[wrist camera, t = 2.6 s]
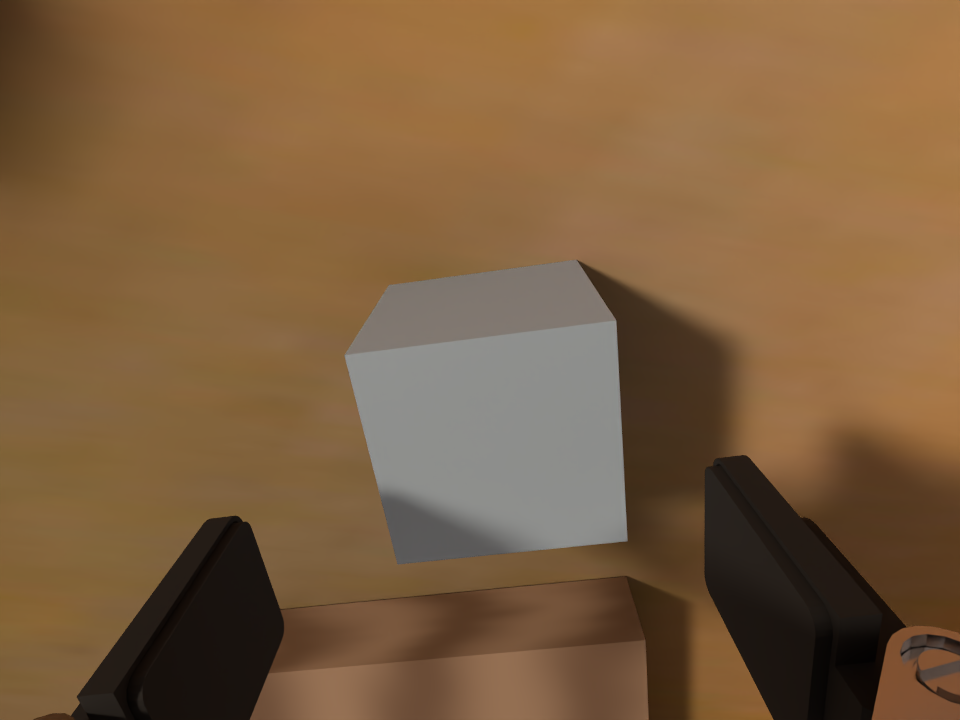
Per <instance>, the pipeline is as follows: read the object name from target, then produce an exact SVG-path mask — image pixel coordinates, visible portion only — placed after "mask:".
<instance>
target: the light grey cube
mask: <svg viewBox="0 0 960 720" xmlns="http://www.w3.org/2000/svg"><path fill="white" fill-rule="evenodd" d="M345 359H346V363H347V367H348V371H349V375H350V379H351V383H352V387H353V390H354V394H355V398H356V402H357V406H358V410H359V414H360V418H361V422H362V426H363V430H364V434H365V438H366V442H367V446H368V449H369V453H370V457H371V461H372V465H373V469H374V473H375V477H376V481H377V485H378V489H379V493H380V497H381V501H382V505H383V508H384V512H385V516H386V520H387V524H388V528H389V532H390V536H391V540H392V544H393V548H394V552H395V556H396V560H397V564H406V563H416V562H426V561H435V560H445V559H455V558H465V557H475V556H485V555H495V554H505V553H515V552H525V551H535V550H545V549H555V548H565V547H575V546H584V545H594V544H604V543H614V542H624V541H627V522H626V502H625V482H624V463H623V443H622V423H621V404H620V384H619V364H618V345H617V325H616V319H615V318H614V316H613V315H612V313H611V312H610V310H609V309H608V307H607V305H606V304H605V302H604V301H603V299H602V298H601V296H600V295H599V293H598V292H597V290H596V289H595V287H594V286H593V284H592V283H591V281H590V280H589V278H588V277H587V275H586V273H585V272H584V270H583V269H582V267H581V266H580V264H579V263H578V261H577V260H571V261H564V262H557V263H549V264H542V265H535V266H527V267H520V268H513V269H505V270H498V271H491V272H483V273H476V274H468V275H461V276H454V277H446V278H439V279H432V280H424V281H417V282H410V283H402V284H395V285H389V286H388V288H387V289H386V291H385V292H384V294H383V295H382V297H381V299H380V300H379V302H378V303H377V305H376V306H375V308H374V310H373V311H372V313H371V314H370V316H369V317H368V319H367V321H366V322H365V324H364V325H363V327H362V328H361V330H360V332H359V333H358V335H357V336H356V338H355V339H354V341H353V343H352V344H351V346H350V347H349V349H348V350H347V352H346V354H345Z"/></svg>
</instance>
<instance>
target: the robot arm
mask: <svg viewBox="0 0 960 720" xmlns="http://www.w3.org/2000/svg"><path fill="white" fill-rule="evenodd" d="M704 572H705V581H706V585H707V588H708V591H709V593H710V595H711V597H712V599H713V601H714V603H715V605H716V607H717V609H718V611H719V613H720V615H721V617H722V619H723V621H724V623H725V625H726V627H727V629H728V631H729V633H730V635H731V637H732V639H733V641H734V642H735V644H736V646H737V648H738V650H739V652H740V654H741V656H742V658H743V660H744V662H745V664H746V666H747V668H748V670H749V672H750V674H751V676H752V678H753V680H754V682H755V684H756V686H757V688H758V690H759V692H760V694H761V696H762V698H763V700H764V701H765V703H766V705H767V707H768V709H769V711H770V713H771V715H772V717H773V719H774V720H960V634H959V633H957V632H954V631H950V630H946V629H942V628H938V627H931V626H912V627H906V626H905V625H904V624H903V622H902V621H901V620H900V619H899V618H898V617H897V616H896V615H895V613H894V612H893V611H892V610H891V609H890V608H889V607H888V605H887V604H886V603H885V602H884V601H883V600H882V599H881V598H880V596H879V595H878V594H877V593H876V592H875V591H874V590H873V588H872V587H871V586H870V585H869V584H868V583H867V582H866V580H865V579H864V578H863V577H862V576H861V575H860V574H859V573H858V571H857V570H856V569H855V568H854V567H853V566H852V565H851V563H850V562H849V561H848V560H847V559H846V558H845V557H844V556H843V554H842V553H841V552H840V551H839V550H838V549H837V548H836V546H835V545H834V544H833V543H832V542H831V541H830V540H829V539H828V537H827V536H826V535H825V534H824V533H823V532H822V531H821V529H820V528H819V527H818V526H817V525H816V524H815V523H814V522H813V521H812V520H810V519H808V518H805V517H804V518H800V517H799V515H798V514H797V513H796V512H795V511H794V510H793V508H792V507H791V506H790V505H789V504H788V503H787V501H786V500H785V499H784V498H783V497H782V496H781V494H780V493H779V492H778V491H777V490H776V489H775V487H774V486H773V485H772V484H771V483H770V482H769V480H768V479H767V478H766V477H765V476H764V475H763V473H762V472H761V471H760V470H759V469H758V468H757V466H756V465H755V464H754V463H753V462H752V461H751V459H750V458H749V457H748V456H746V455H741V456H733V457H724V458H717V459H715V461H714V463H713V466H711V467H707V468H706V470H705V571H704ZM283 634H284V620H283V617H282V614H281V611H280V608H279V605H278V602H277V599H276V597H275V594H274V591H273V588H272V585H271V582H270V580H269V577H268V574H267V571H266V568H265V565H264V562H263V560H262V557H261V554H260V551H259V548H258V545H257V543H256V540H255V537H254V534H253V531H252V528H251V526H250V524H249V523H248V522H243V521H242V519H241V518H240V517H238V516H229V517H221V518H213V519H209V520H207V521H206V522H205V523H204V524H203V525H202V527H201V528H200V529H199V531H198V532H197V533H196V535H195V536H194V538H193V539H192V540H191V542H190V543H189V544H188V546H187V547H186V548H185V550H184V551H183V553H182V554H181V555H180V557H179V558H178V559H177V561H176V562H175V563H174V565H173V566H172V568H171V569H170V570H169V572H168V573H167V574H166V576H165V577H164V578H163V580H162V581H161V583H160V584H159V585H158V587H157V588H156V589H155V591H154V592H153V593H152V595H151V596H150V598H149V599H148V600H147V602H146V603H145V604H144V606H143V607H142V608H141V610H140V611H139V613H138V614H137V615H136V617H135V618H134V619H133V621H132V622H131V623H130V625H129V626H128V628H127V629H126V630H125V632H124V633H123V634H122V636H121V637H120V638H119V640H118V641H117V643H116V644H115V645H114V647H113V648H112V649H111V651H110V652H109V653H108V655H107V656H106V658H105V659H104V660H103V662H102V663H101V664H100V666H99V667H98V668H97V670H96V671H95V673H94V674H93V675H92V677H91V678H90V679H89V681H88V682H87V683H86V685H85V686H84V688H83V689H82V690H81V692H80V693H79V694H78V696H77V698H78V700H79V702H80V704H79V705H78V707H77V708H76V710H75V711H74V712H73V714H72V715H71V716H70V715H68V714H65V713H52V714H49V715H45V716H42V717H38V718H36V719H34V720H250V718H251V716H252V713H253V711H254V708H255V706H256V703H257V701H258V698H259V696H260V693H261V691H262V688H263V686H264V683H265V681H266V678H267V676H268V673H269V671H270V668H271V666H272V663H273V661H274V658H275V656H276V653H277V651H278V649H279V646H280V644H281V641H282V638H283Z"/></svg>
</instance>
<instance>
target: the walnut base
mask: <svg viewBox="0 0 960 720" xmlns="http://www.w3.org/2000/svg"><path fill="white" fill-rule="evenodd" d="M280 611H281V614H282V617H283V620H284V634H283V638H282V641H281V644H280V646H279V649H278V651H277V653H276V656H275V658H274V661H273V663H272V666H271V668H270V671H269V673H268V676H267V678H266V681H265V683H264V686H263V688H262V691H261V693H260V696H259V698H258V701H257V703H256V706H255V708H254V711H253V713H252V716H251V718H250V720H649V717H648V691H647V665H646V640H645V637H644V633H643V630H642V627H641V624H640V620H639V617H638V614H637V610H636V607H635V604H634V601H633V597H632V594H631V591H630V587H629V584H628V581H627V578H626V576H625V577H615V578H604V579H594V580H584V581H573V582H563V583H553V584H542V585H532V586H522V587H511V588H501V589H490V590H480V591H470V592H459V593H449V594H439V595H428V596H418V597H408V598H397V599H387V600H377V601H366V602H356V603H345V604H335V605H325V606H314V607H304V608H294V609H283V610H280Z"/></svg>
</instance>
